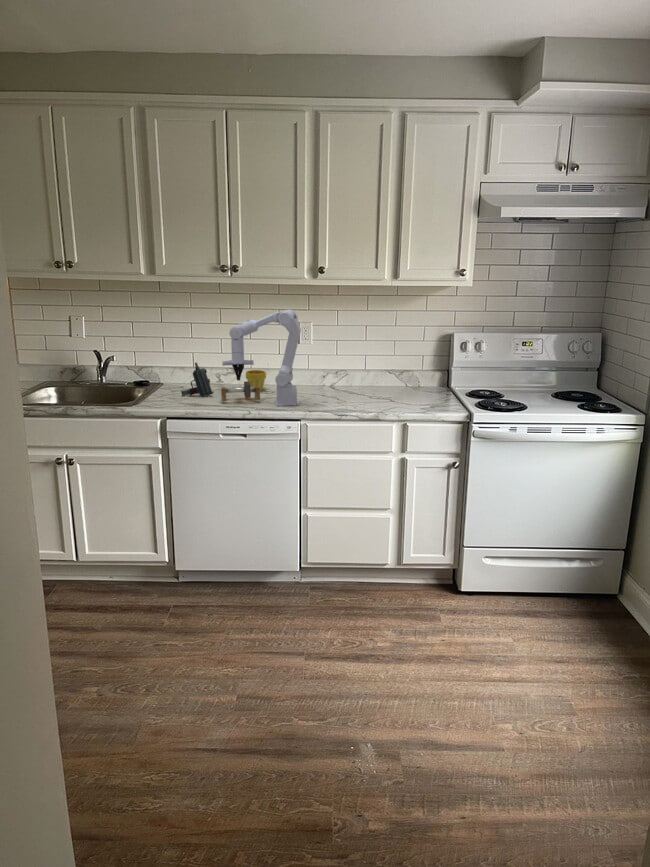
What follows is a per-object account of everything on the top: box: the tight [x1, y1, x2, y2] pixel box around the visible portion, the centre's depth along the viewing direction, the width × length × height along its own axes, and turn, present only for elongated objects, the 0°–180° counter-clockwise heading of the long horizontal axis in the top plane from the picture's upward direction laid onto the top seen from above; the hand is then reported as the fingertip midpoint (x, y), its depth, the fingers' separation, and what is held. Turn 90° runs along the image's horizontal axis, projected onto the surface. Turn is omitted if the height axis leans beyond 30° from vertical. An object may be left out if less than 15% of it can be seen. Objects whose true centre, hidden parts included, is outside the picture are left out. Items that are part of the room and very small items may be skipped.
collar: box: [243, 381, 252, 398], centre depth 305 cm, size 2×6×6 cm, turn 12°
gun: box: [180, 361, 214, 398], centre depth 313 cm, size 3×17×15 cm
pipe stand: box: [220, 386, 261, 405], centre depth 305 cm, size 18×6×7 cm, turn 102°
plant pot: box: [245, 369, 267, 392], centre depth 328 cm, size 10×10×10 cm
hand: (238, 380), depth 304 cm, fingers closed
